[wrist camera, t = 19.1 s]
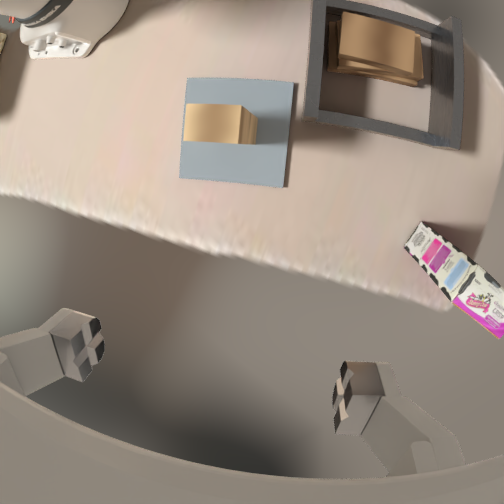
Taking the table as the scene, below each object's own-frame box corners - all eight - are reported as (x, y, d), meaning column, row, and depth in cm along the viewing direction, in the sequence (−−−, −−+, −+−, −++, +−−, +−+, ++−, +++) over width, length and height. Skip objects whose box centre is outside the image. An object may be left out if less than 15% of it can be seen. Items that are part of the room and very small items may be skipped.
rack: (301, 121, 37) (303, 115, 30) (311, 2, 30) (314, -21, 24) (435, 148, 35) (459, 150, 28) (439, 34, 29) (461, 19, 22)
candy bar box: (401, 248, 40) (449, 303, 25) (420, 219, 39) (478, 261, 23) (448, 284, 41) (499, 342, 26) (466, 258, 39) (524, 308, 24)
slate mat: (180, 177, 41) (179, 178, 40) (188, 78, 36) (187, 78, 36) (283, 187, 40) (282, 187, 39) (293, 83, 35) (293, 82, 34)
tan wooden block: (217, 141, 38) (183, 140, 26) (219, 115, 37) (186, 103, 25) (255, 144, 38) (237, 143, 26) (257, 118, 37) (241, 105, 24)
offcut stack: (326, 71, 34) (332, 59, 28) (328, 26, 32) (332, 9, 26) (412, 87, 33) (429, 80, 27) (411, 43, 30) (427, 30, 25)
